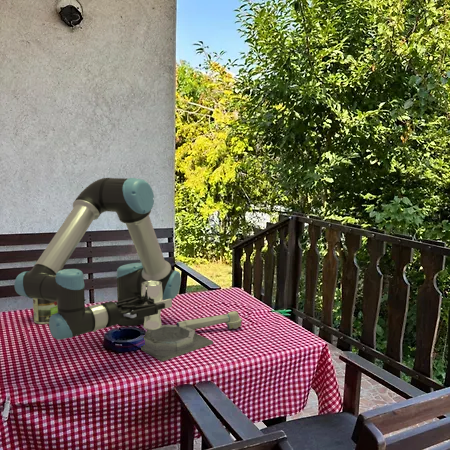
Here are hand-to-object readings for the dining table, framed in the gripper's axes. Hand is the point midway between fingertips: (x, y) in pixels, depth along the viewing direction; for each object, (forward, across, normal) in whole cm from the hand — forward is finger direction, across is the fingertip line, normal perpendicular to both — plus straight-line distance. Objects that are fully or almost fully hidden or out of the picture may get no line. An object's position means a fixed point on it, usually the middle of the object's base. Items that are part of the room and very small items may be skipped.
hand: (164, 300), depth 154 cm
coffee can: (-18, -57, -18) cm, 63 cm away
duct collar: (+5, -4, -18) cm, 19 cm away
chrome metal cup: (-5, 0, -8) cm, 10 cm away
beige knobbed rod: (+23, -3, -18) cm, 29 cm away
